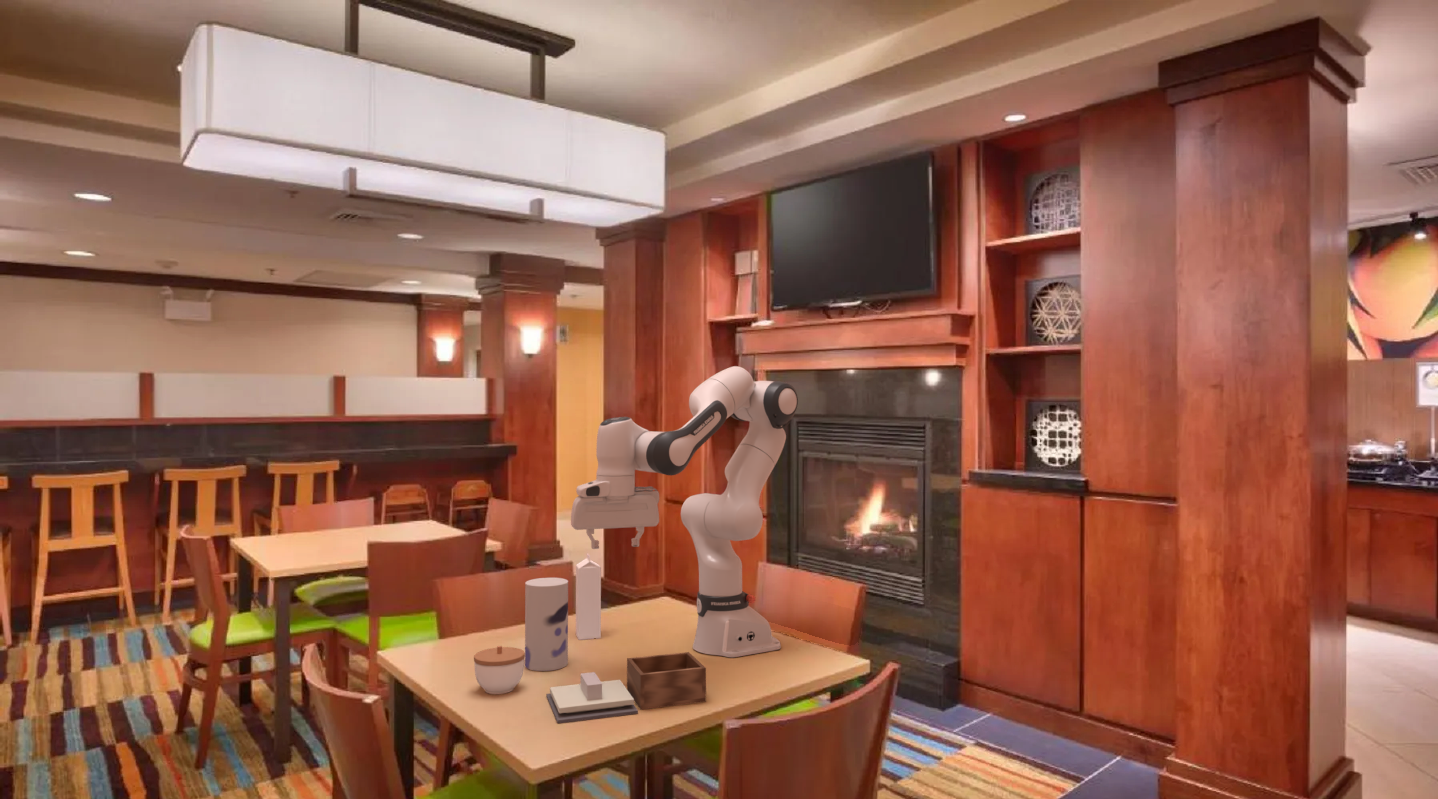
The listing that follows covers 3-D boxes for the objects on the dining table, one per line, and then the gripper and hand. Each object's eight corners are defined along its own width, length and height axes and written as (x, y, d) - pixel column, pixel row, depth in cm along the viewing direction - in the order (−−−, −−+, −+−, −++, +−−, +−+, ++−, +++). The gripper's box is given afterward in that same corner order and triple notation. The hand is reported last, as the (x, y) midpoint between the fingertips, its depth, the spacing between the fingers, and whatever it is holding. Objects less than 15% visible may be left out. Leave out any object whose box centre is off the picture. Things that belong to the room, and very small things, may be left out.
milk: (578, 640, 219) (577, 556, 219) (575, 634, 225) (575, 552, 225) (601, 638, 221) (600, 555, 221) (598, 632, 227) (597, 551, 227)
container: (558, 673, 192) (558, 586, 192) (517, 670, 194) (518, 584, 194) (574, 660, 201) (574, 577, 202) (535, 657, 203) (536, 576, 204)
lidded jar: (479, 682, 185) (479, 640, 185) (528, 680, 186) (528, 639, 186) (468, 698, 174) (469, 654, 175) (520, 697, 175) (520, 652, 176)
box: (688, 683, 184) (688, 652, 184) (705, 701, 173) (705, 667, 173) (627, 690, 179) (627, 658, 180) (640, 709, 168) (640, 674, 168)
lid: (619, 688, 179) (619, 665, 180) (634, 708, 167) (634, 684, 167) (549, 695, 174) (549, 673, 175) (559, 717, 162) (559, 692, 162)
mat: (620, 688, 181) (620, 685, 181) (638, 713, 166) (638, 710, 166) (546, 696, 176) (546, 693, 176) (557, 723, 161) (557, 720, 161)
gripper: (655, 484, 198) (655, 543, 198) (569, 487, 191) (569, 547, 191) (662, 487, 192) (662, 547, 192) (574, 489, 185) (574, 552, 185)
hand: (615, 547), depth 191 cm, fingers open, 8 cm apart
